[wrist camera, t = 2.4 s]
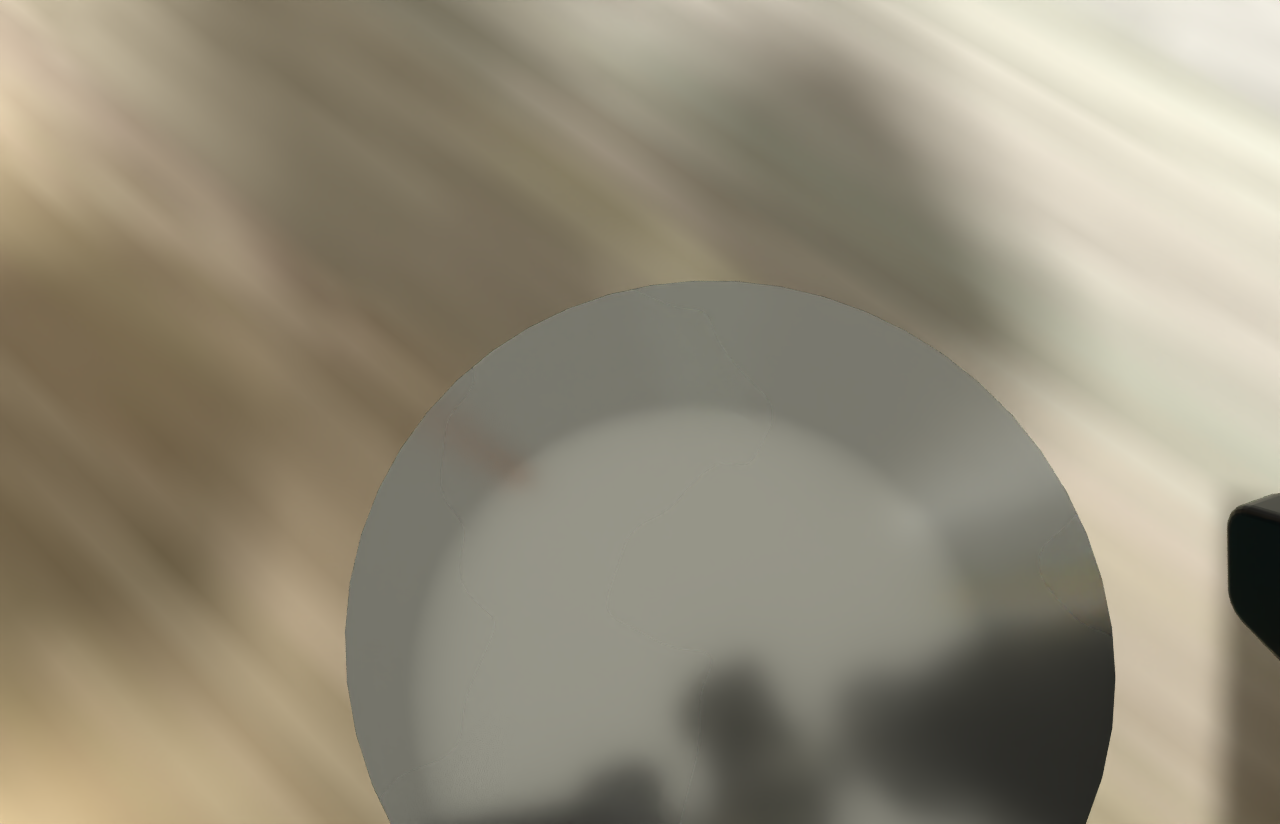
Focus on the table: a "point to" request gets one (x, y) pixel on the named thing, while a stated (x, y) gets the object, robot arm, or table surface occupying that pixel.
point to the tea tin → (726, 583)
